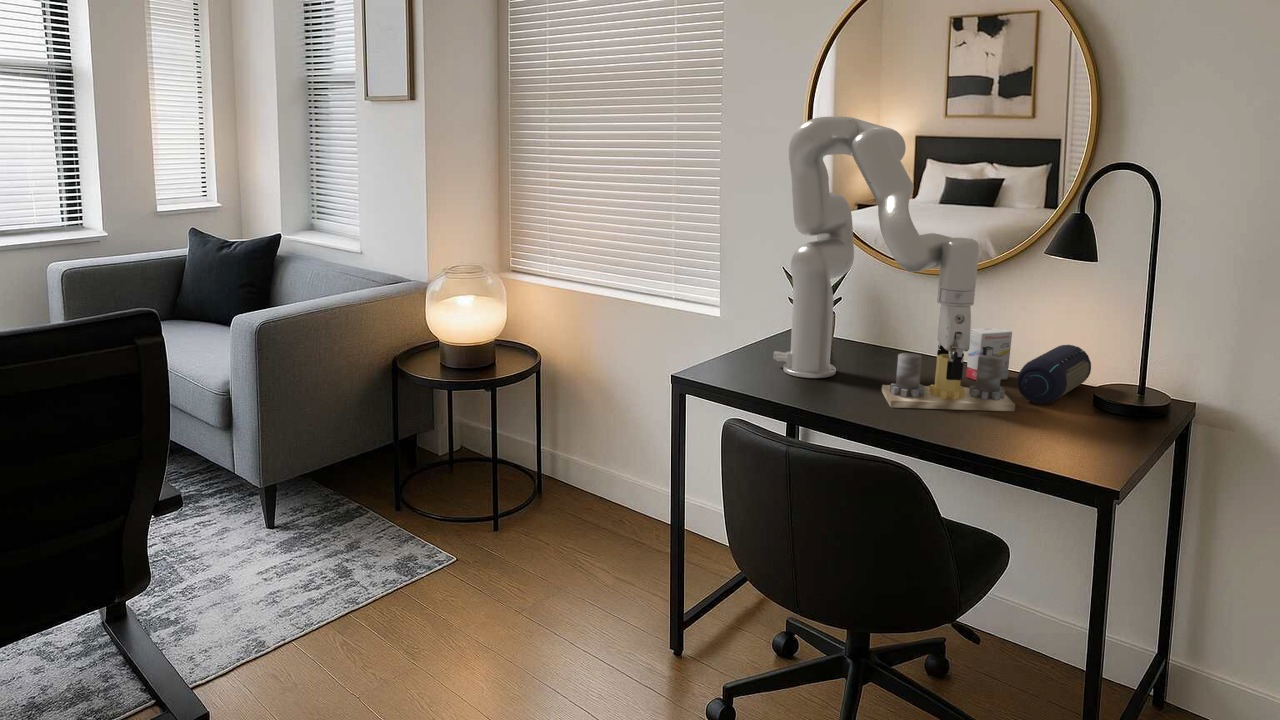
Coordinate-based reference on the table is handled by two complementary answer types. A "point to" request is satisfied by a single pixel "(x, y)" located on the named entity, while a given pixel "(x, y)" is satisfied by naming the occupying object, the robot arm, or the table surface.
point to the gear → (945, 381)
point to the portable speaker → (1053, 374)
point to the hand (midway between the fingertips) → (948, 373)
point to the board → (975, 398)
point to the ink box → (988, 348)
